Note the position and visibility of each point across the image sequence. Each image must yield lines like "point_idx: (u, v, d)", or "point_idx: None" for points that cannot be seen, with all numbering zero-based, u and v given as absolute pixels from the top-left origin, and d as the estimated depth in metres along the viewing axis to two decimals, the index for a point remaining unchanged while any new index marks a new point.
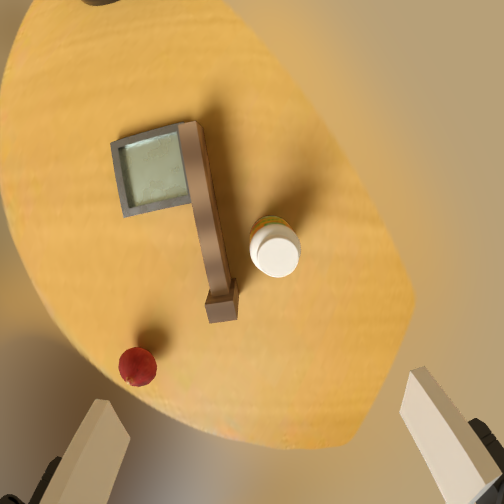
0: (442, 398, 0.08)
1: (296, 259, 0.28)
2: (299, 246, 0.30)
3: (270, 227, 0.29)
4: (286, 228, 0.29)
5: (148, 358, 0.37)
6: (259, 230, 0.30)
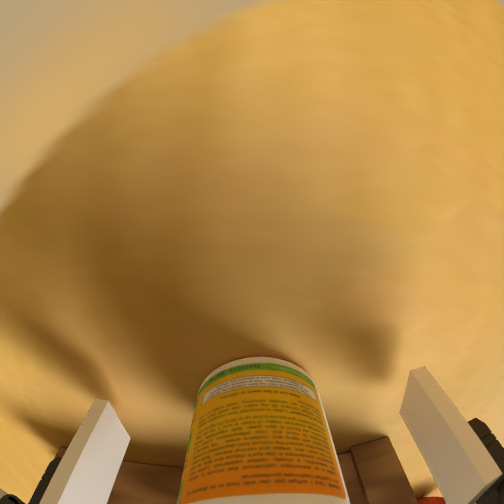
0: (442, 398, 0.08)
1: None
2: None
3: None
4: None
5: None
6: None
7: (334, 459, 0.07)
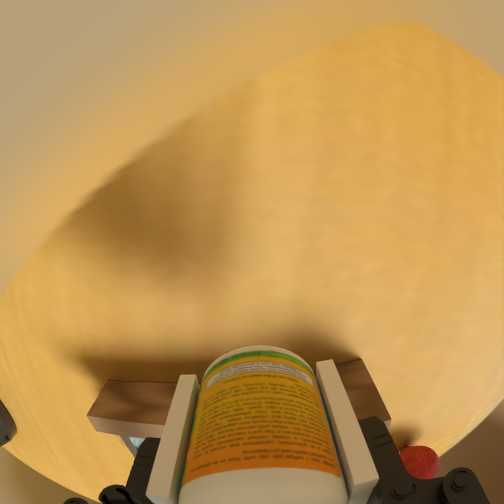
0: (338, 391, 0.10)
1: None
2: (250, 497, 0.05)
3: None
4: None
5: (409, 464, 0.21)
6: None
7: (330, 440, 0.08)
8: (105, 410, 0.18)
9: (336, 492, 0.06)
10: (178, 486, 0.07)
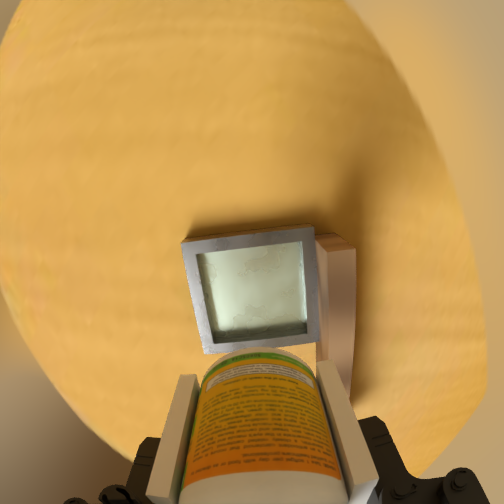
0: (337, 391, 0.10)
1: None
2: (250, 500, 0.05)
3: None
4: None
5: None
6: None
7: (330, 442, 0.08)
8: None
9: (336, 495, 0.05)
10: (178, 486, 0.07)
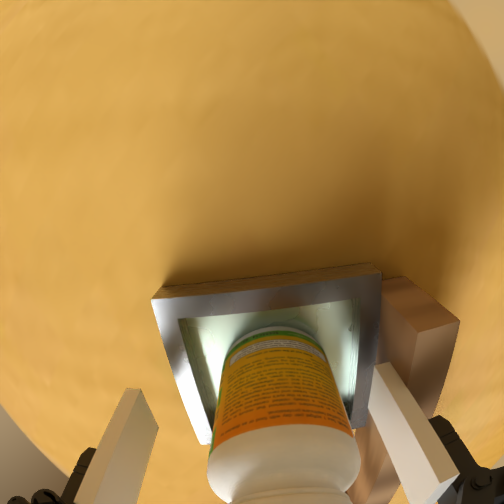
0: (403, 393, 0.09)
1: None
2: (277, 451, 0.07)
3: (212, 489, 0.07)
4: (214, 467, 0.07)
5: None
6: None
7: (342, 406, 0.09)
8: None
9: (350, 449, 0.07)
10: (107, 498, 0.06)
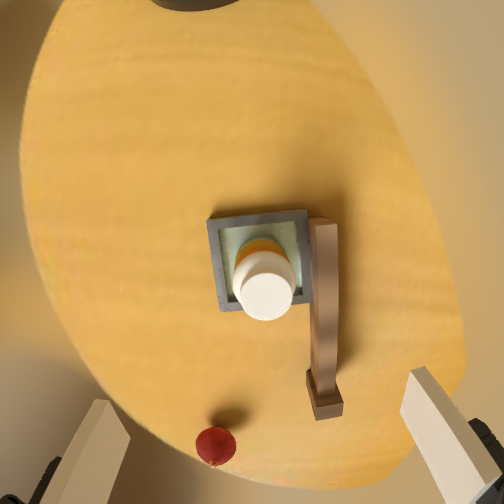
0: (442, 398, 0.08)
1: (270, 275, 0.21)
2: (260, 256, 0.23)
3: (234, 290, 0.24)
4: (236, 271, 0.24)
5: (231, 440, 0.34)
6: (239, 300, 0.25)
7: (288, 259, 0.26)
8: None
9: (288, 265, 0.24)
10: None
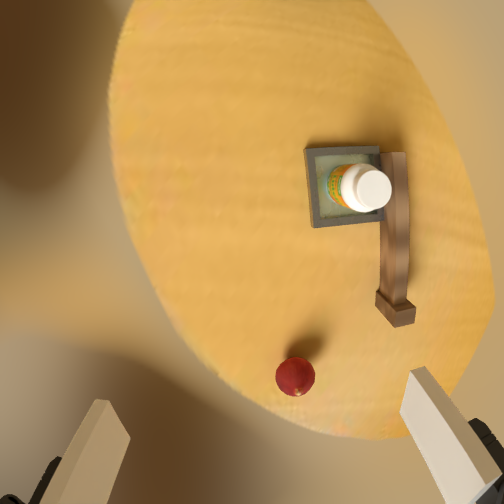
0: (442, 398, 0.08)
1: (377, 172, 0.26)
2: (363, 165, 0.28)
3: (344, 191, 0.29)
4: (346, 176, 0.29)
5: (311, 367, 0.39)
6: (345, 201, 0.30)
7: None
8: None
9: None
10: None
